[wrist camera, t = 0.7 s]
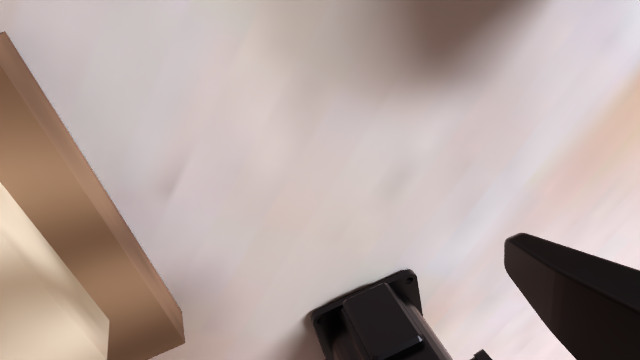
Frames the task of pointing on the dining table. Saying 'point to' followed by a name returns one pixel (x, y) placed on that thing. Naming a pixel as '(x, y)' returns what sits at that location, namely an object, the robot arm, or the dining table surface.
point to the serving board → (80, 217)
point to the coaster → (42, 297)
